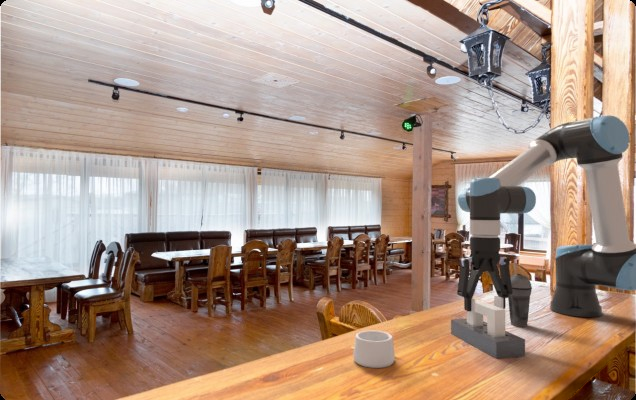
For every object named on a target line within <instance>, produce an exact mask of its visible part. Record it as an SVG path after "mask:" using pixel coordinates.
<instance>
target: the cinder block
mask: <svg viewBox="0 0 636 400" xmlns="http://www.w3.org/2000/svg"><path fill="white" fill-rule="evenodd" d="M450 333H451V334H452V335H453V336H455V337H457V338H458V339H460V340H462V341H464V342H465V343H467V344H469V345H471V346H473V347H474V348H477V349H478V350H480V351H482V352H483V353H485V354H486V355H487V354H488V355H489V356H491V357H493V358H495V359H497V360H498V359H507V358H508V359H509V358H519V357H525V356H526V339H524V338H523V337H521V336H518V335H515V334H514V333H511V332H509V331H507V330H505V336H503V337H492V336H490V335H488V334H487V321H485V320H483V326H477V327H472V326H470V325H468V324H467V317H466V318H452V319H450Z"/></svg>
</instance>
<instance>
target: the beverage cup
mask: <svg viewBox="0 0 636 400" xmlns="http://www.w3.org/2000/svg"><path fill="white" fill-rule="evenodd" d="M513 266H514V274H511V275H510V277H511V285H512V292H513V293H512V294H511V295H510V294H509V297H508V298H507V301H508V309H509V311H508V312H509V319H510V325H511V326H513V327H517V328H518V327H519V328H524V327H525V328H526V327H528V321H529V312H530V301H531V296H532V295H531V294H532V290H533V286H532V283H531V281H530V279H529V278H528V277H527V276H526V275H524V274H523V273H522V274H521V273H518V270H517V263H516V258H515V259H513Z"/></svg>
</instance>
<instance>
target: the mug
mask: <svg viewBox="0 0 636 400" xmlns="http://www.w3.org/2000/svg"><path fill="white" fill-rule="evenodd" d="M354 338H355V339H354V344H353V345H354V346H353V353H352V354H353V356H352V357H353V360H354V362H355V363H356V364H357V365H358V366H362V367H364V368H371V369H383V368H388V367H390V366H391V365H393V364H394V362H395V349H394V339H393V338H394V337H393V336H392V334H390V333H388V332H385V331H383V330H382V331H381V330H374V329H373V330H363V331H362V330H361V331H360V332H357V333H356V334H355V337H354Z"/></svg>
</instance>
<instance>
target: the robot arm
mask: <svg viewBox="0 0 636 400" xmlns="http://www.w3.org/2000/svg"><path fill="white" fill-rule="evenodd" d="M628 129H629V128H628V127H627V125H626V124H625V123H624V122H623V120H621V119H620V118H618V117H617V116H615V115H602V116H595V117H589V118H586V119H581V120H576V121H570V122H565V123H561V124H559V125H556V126H555V127H553V128H551V129H549V130H548V131H546V132H544V133H542V135H540V136H538V137H537V138H536V139H534V140H533V141H531V142H530V144H529V145H528V148H527V149H526V150H524V151H523V152H521V153H520V154H519V155H517V156H516V157H514V159H512V160H511V161H509V162H508V163H506V164H505V165H504V166H502V167H501V168H500V169H498V170H497V171H495V172H494V173H493V174H491V175H490V176H489V177H476V178H472V179H471V181H470V183H469V187H468V188H464V189H462V190H461V191H460V192H459V194H458V195H457V196H458V197H457V203H458V207H459V208H460V209H461V211H464V212H467V213H469V234H470V235H471V236H470V237H469V250H470V254H469V257H466V258H465V257H464V258H463V257H460V258H459V265H460V266H459V267H460V269H459V277H458V283H457V285H458V286H457V290H456V292H457V293H456V295H458V296H460V297H462V298H463V306H464V307H463V308H464V311H466V318H467V322H468V323H470V324H472V325H475V298H473V297H474V294H475V292H476V289H477V286H478V284H479V281H480V278H481V276H482V275H483V273H485V272H486V273H488V274H489V276H490V279H491V281H492V284H493V288H494V289H495V292H496V295H494V298H493V300H494V301H493V302H494V304H493V305H494V306H497V307H499V308H502V309H505V310H506V305H507V304H506V299H508V297H509V294H510V295H511V294H512V293H513V292H512V285H511V277H510V276H511V272H510V264H511V263H510V261H511V258H510V257H506V256H501V255H500V251H501V238H500V237H499V236H500V235H501V214H509V215H510V214H517V215H522V214H527V213H530V212H531V211H533V209H534V208H535V206H536V204H537V196H536V193H535V192H534V190H533V189H531V187H527V186H522V185H521V184H523V183H524V182H525V181H527V180H528V179H530V178H531V177H532V176H533V175H534V174H536V173H538V172H539V171H540V170H542V169H543V168H544V167H549V166H552V165H553V164H555V163H556V162H558V161H563V160H567V159H576V162H577V166H579V167H581V168H582V169H583V170H584V177H585V181H586V189H587V194H588V200H589V201H588V202H589V206H590V207H589V208H590V213H591V218H592V224H593V229H594V236H595V243H593V244H592V243H591V244H574V245H573V244H572V245H571V244H570V245H559V246H557V248H556V249H555V258H554V259H555V290H554V292H553V297H552V300H550V305H549V306H550V310H551V311H552V312H555V313H557V314H560V315H561V314H562V315H565V316H566V315H567V316H571V317H572V316H573V317H580V318H581V317H582V318H598V317H601V316H602V315H603V309H602V306H601V305H600V300H599V297H598V295H597V291H596V290H597V289H596V288H597V287H596V286H600V287H606V288H610V289H611V288H612V289H616V290H618V291H619V290H620V291H623V290H624V291H630V292H631V291H632V292H633V291H636V243H634V242H633V241H632V240H630V234H629V228H628V222H627V216H626V215H627V214H626V210H625V203H624V196H623V191H622V186H621V185H622V184H621V178H620V172H619V165H618V164H619V163H620V162H621V160H622V159H623V153H625V152H626V151H627V150H628V149H629V147H630V145H629V144H630V141H631V140H630V139H631V138H630V133H629V130H628ZM498 265H499V267H498Z"/></svg>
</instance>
